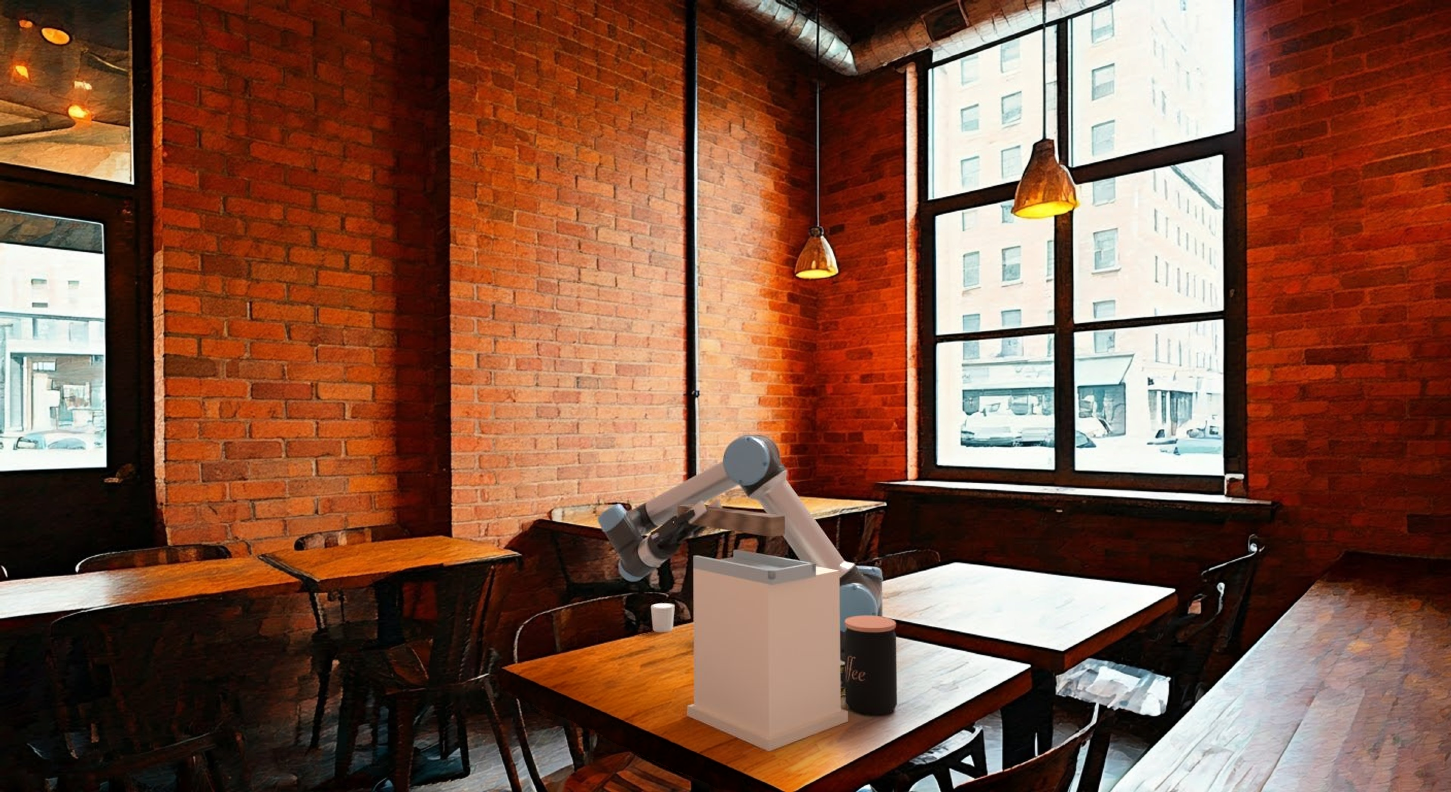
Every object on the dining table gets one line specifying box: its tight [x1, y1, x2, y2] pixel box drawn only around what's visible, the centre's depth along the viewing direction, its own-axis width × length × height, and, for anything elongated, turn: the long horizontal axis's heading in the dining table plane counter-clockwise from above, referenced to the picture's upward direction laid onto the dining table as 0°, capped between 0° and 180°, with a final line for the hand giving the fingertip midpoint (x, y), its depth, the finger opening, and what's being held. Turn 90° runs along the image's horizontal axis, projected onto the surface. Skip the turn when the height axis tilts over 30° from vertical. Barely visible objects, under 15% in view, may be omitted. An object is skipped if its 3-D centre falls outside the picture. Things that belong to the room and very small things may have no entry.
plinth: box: [686, 566, 849, 752], centre depth 164 cm, size 24×22×30 cm
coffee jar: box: [844, 616, 898, 717], centre depth 169 cm, size 11×11×18 cm
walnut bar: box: [678, 504, 785, 538], centre depth 181 cm, size 32×4×4 cm, turn 41°
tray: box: [692, 549, 816, 585], centre depth 161 cm, size 23×12×2 cm, turn 41°
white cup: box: [650, 602, 675, 633], centre depth 233 cm, size 7×7×7 cm
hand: (711, 505), depth 185 cm, fingers closed on walnut bar, 4 cm apart
